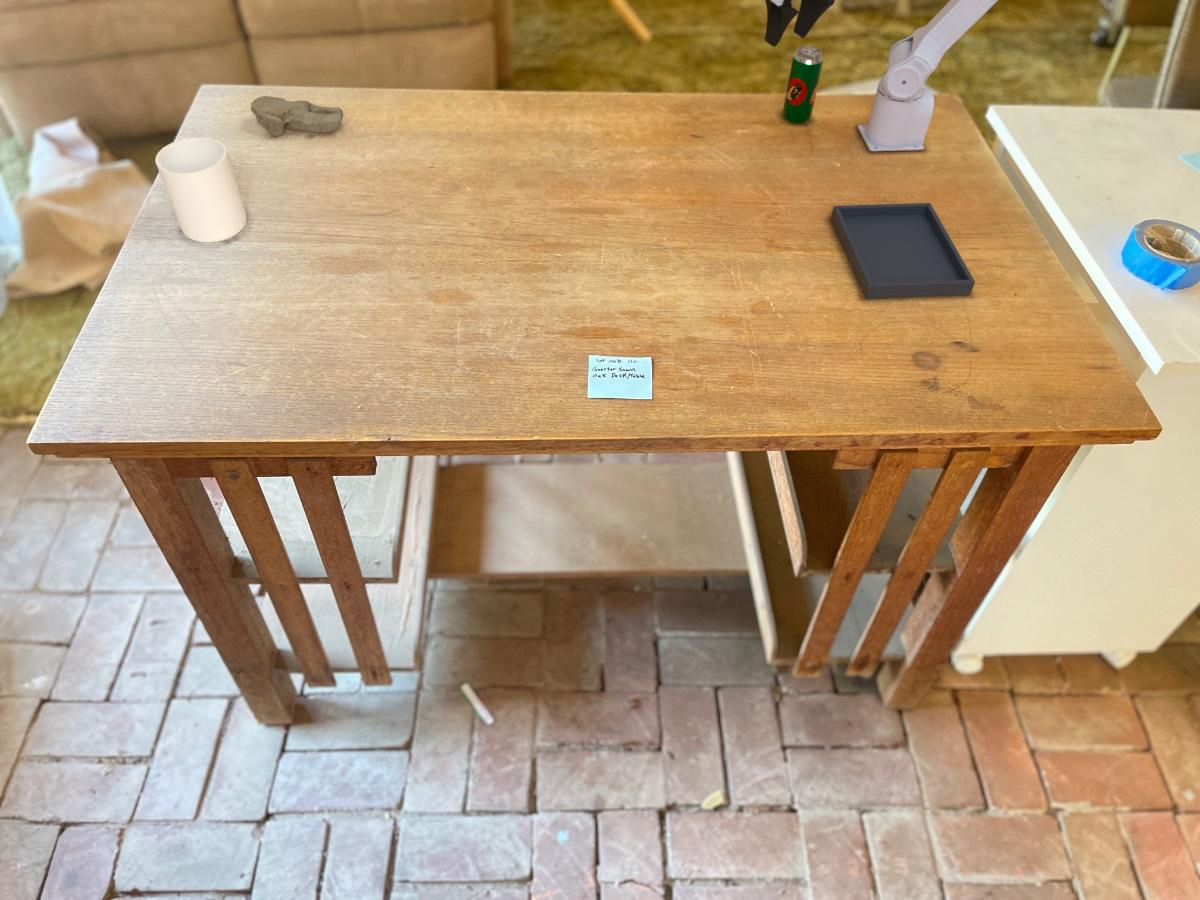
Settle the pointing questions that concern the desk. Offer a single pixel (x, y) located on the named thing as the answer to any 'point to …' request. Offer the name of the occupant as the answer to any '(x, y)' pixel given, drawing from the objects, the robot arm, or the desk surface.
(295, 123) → the sculpture
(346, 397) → the desk surface
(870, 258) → the dark grey tray
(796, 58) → the soda can
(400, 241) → the desk surface
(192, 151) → the mug
